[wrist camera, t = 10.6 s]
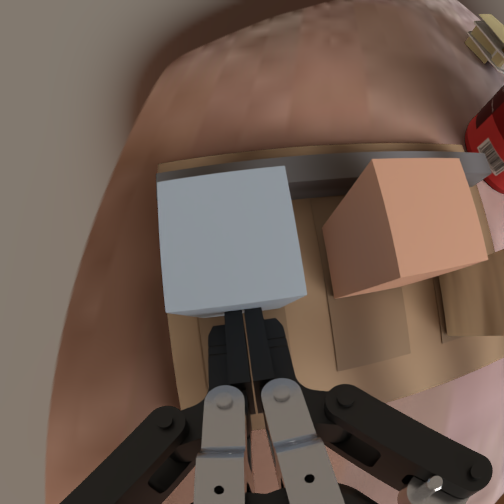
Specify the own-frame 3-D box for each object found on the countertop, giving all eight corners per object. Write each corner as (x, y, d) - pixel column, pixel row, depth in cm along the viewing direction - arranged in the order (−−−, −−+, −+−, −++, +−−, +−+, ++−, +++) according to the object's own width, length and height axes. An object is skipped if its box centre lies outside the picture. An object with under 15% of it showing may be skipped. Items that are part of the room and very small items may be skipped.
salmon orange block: (385, 220, 18) (459, 158, 10) (398, 287, 17) (488, 259, 9) (321, 227, 18) (371, 159, 10) (334, 298, 17) (400, 277, 9)
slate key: (268, 234, 18) (284, 165, 10) (279, 308, 17) (307, 294, 9) (195, 244, 17) (157, 182, 10) (203, 317, 17) (166, 312, 9)
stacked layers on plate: (440, 36, 26) (457, 5, 21) (471, 31, 27) (488, 6, 22) (498, 99, 24) (523, 72, 19) (522, 86, 25) (543, 63, 20)
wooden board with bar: (449, 156, 22) (478, 128, 17) (491, 354, 18) (531, 355, 14) (165, 177, 21) (147, 143, 16) (191, 425, 17) (176, 451, 13)
